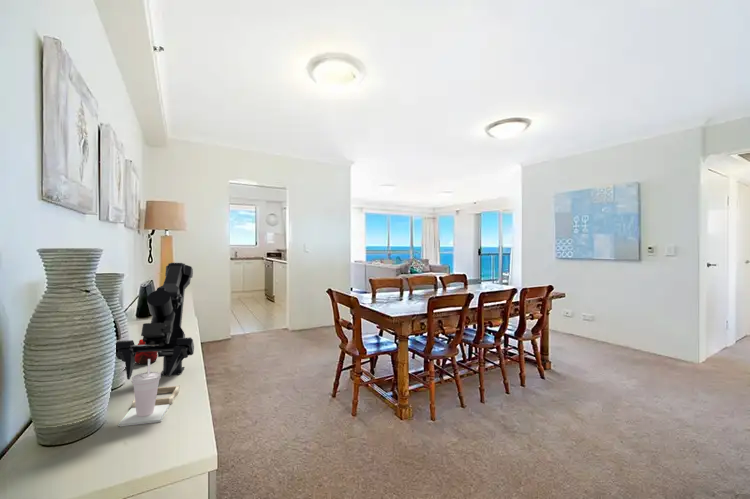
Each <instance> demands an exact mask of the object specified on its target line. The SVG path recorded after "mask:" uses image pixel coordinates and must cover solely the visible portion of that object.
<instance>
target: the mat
mask: <svg viewBox="0 0 750 499" xmlns="http://www.w3.org/2000/svg"><path fill="white" fill-rule="evenodd" d="M170 406H171V404H164V405H155V407H154V412H153V413H152V414H150V415H148V416H142V417H140V416H137V414H136V407H135V408H132V407H131V408H130V409H129V411H128V412H127V413H126V414H125V416H124V417H123V418H122V419H121V421H119V423H118V424H117V425H118V426H120V427H127V426H136V425H143V424H144V425H145V424H153V423H161V422H162V420H163V418H165V415H166V413H167V412H168V410H169V409H170ZM118 426H117V427H118Z"/></svg>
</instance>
